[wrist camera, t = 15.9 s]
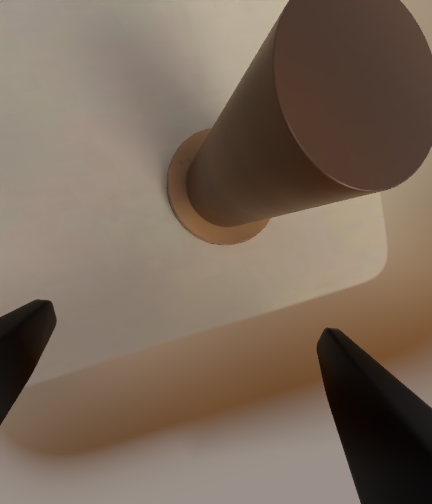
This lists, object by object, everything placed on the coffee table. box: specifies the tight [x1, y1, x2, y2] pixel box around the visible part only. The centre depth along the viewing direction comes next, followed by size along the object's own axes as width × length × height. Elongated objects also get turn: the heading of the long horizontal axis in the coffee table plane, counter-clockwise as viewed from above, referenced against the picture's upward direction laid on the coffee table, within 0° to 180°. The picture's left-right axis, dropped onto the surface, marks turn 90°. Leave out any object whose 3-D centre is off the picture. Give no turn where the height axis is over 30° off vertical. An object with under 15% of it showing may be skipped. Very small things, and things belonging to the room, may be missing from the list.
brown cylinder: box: [186, 0, 432, 227], centre depth 12 cm, size 6×6×11 cm
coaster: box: [167, 129, 270, 245], centre depth 17 cm, size 8×8×1 cm
